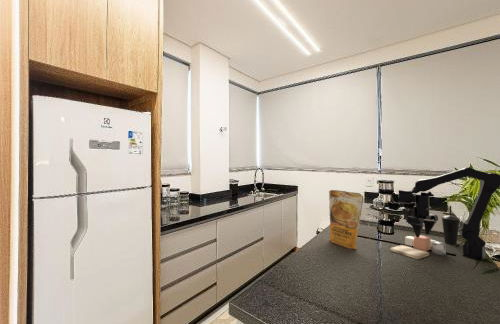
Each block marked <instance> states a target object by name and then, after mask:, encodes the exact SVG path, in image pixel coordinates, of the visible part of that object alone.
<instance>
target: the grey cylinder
mask: <svg viewBox="0 0 500 324" xmlns="http://www.w3.org/2000/svg"><path fill="white" fill-rule="evenodd" d="M446 244H447V243H445V242H442V241H439V242H438V240H435V241H432V247H431V252H432V254H434V255H438V256H446V255H447V252H446V251H447V248H446V246H447V245H446Z"/></svg>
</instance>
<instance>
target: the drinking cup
mask: <svg viewBox="0 0 500 324" xmlns="http://www.w3.org/2000/svg"><path fill="white" fill-rule="evenodd" d="M460 221H461V218H459V217H457V216H454V215H452V205H449V214H447V215H446V214H445V215H442V216H441V223H442V228H443V229H442V231H443V239H444V243H445V244H448V245H457V242H458V236H459V235H458V233H459V229H458V227H459V226H460Z"/></svg>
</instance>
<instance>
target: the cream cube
mask: <svg viewBox="0 0 500 324" xmlns="http://www.w3.org/2000/svg"><path fill="white" fill-rule="evenodd" d="M404 238H405V239H404V246H408V247H412V246H413V247H412V248H414V236H411V235H409V236H408V235H407V236H405V237H404Z"/></svg>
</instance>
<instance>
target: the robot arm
mask: <svg viewBox="0 0 500 324" xmlns="http://www.w3.org/2000/svg"><path fill="white" fill-rule="evenodd" d="M466 177H469V178H472V179H475V180H478V181H479V190H478V193H477V195H476V199H475V201H474V203H473V205H472V208H471V211H469V215H468V217H467V219H466V220H461V219H460V221H459V227H458V233H459V234H460V236H461V237H462V238H463V239H464V240H465V241H464V242H463V244H462V256H463V257H466V258H470V259H474V260H476V261H477V260H478V261H484V260H485V259H487V256H486V247H485V246H486V244H487V242H486V241H485V240H483V238H482V237H480V231H481V229H480V227H481V225H480V224H481V221H482V219H483V217H484V214H485V212H486V210H487V207H488V205H489V203H490V202H491V201H490V200H491V198H492V196H493V194H494V193H495V192H496V191H497V190H498V189H499V188H500V174H498V173H497V172H485V171H481V170H478V169H477V170H476V169H474V168H472V167H467V166H466V167H463V168H461V169H458V170H453V171H451V172H449V173H444V174H441V175H439V176H435V177H430V178H423V179H421V178H420V179H418V180H416V181H415V182H414V186H413V188H411V190H404V189H403V190H402V189H399V190H398V196H397V201H398V202H397V203H398V204H406V205H407V204H408V205H409V204H410V205H411V204H412V203H414V202H415V203H414V206H412V208H411V209H408V208H406V207H405V208H402V211H401V215H403V216H404V218H405V220H406V221H405V223H407V224H408V225H410V226H411V227H412V229H413V232H414V234H415V235H414V236H416V237H419V236H420V235H422V234H421V233H422V231H423V228H424V231H425V235H426V236H428V235H429V234H430V233H431V231H432V229H433V228H434V226H435V225H436V224H437V221H439V216H438V215H437V214H433V213H430V210H432V207H431V206H430V197H433V198H434V197H435V194H433V193H432V192H431V191H430V190H432V189H433V188H436V187H437V186H439V185H442V184H446V183H449V182H452V181H457V180H460V179H463V178H466Z"/></svg>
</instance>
